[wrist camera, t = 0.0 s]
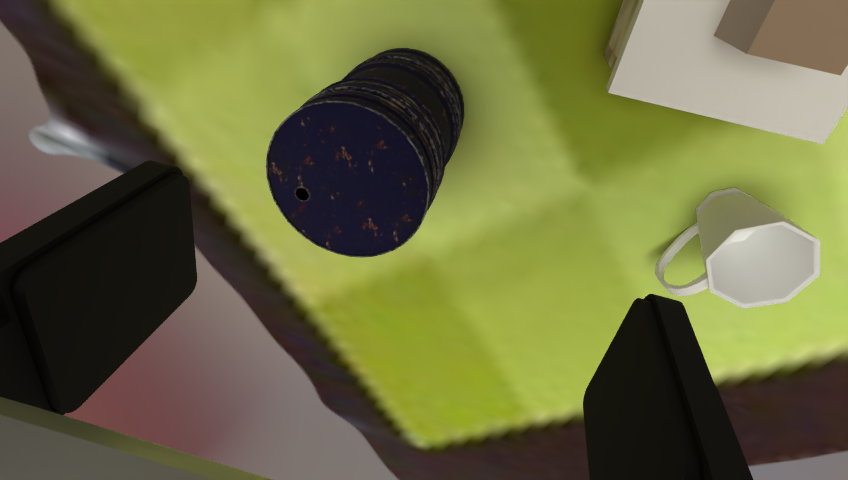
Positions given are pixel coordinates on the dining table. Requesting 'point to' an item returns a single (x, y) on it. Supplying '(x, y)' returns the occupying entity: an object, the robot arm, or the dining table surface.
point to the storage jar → (367, 153)
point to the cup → (746, 252)
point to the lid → (741, 62)
